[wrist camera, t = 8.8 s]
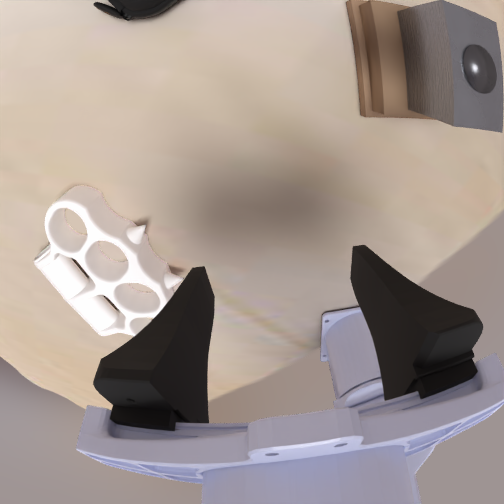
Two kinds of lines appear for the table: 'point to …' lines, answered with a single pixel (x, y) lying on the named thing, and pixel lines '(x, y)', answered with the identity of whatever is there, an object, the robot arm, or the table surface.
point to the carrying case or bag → (135, 8)
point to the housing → (452, 65)
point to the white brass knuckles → (103, 265)
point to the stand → (380, 59)
